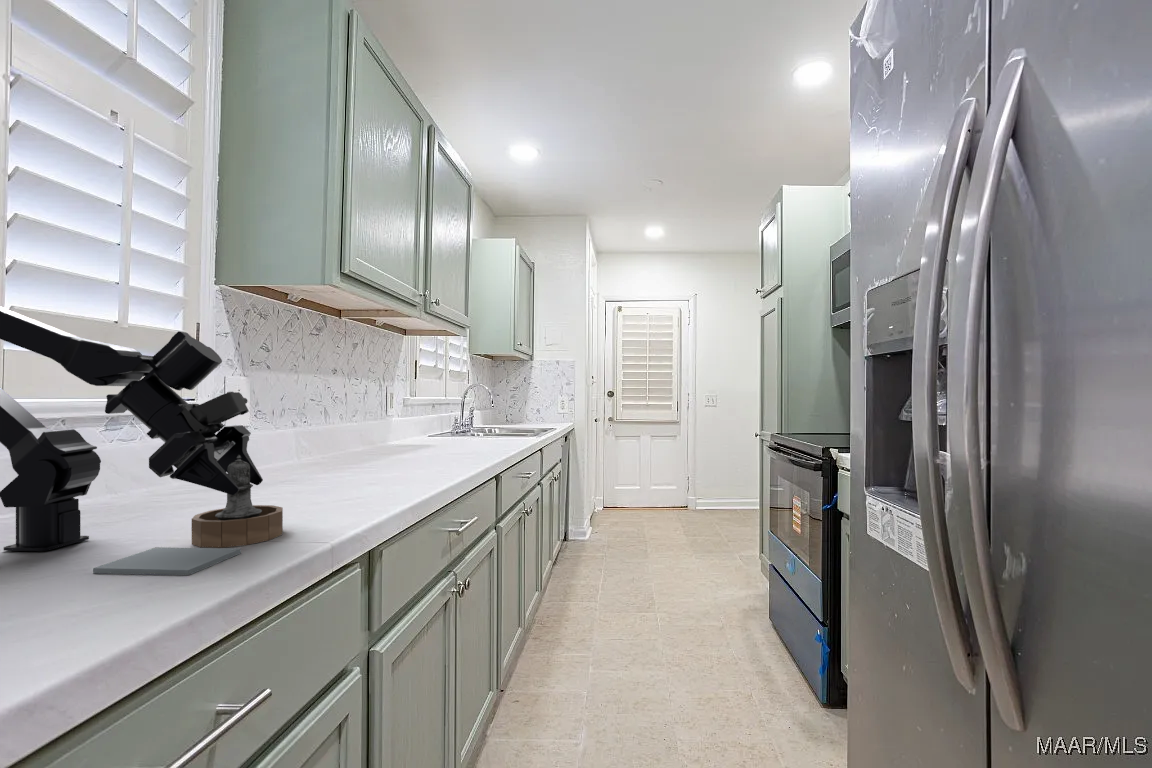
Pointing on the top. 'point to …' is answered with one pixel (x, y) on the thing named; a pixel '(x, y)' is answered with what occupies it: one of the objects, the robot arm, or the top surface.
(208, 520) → the ring
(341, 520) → the top surface
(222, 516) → the salt shaker
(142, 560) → the mat
